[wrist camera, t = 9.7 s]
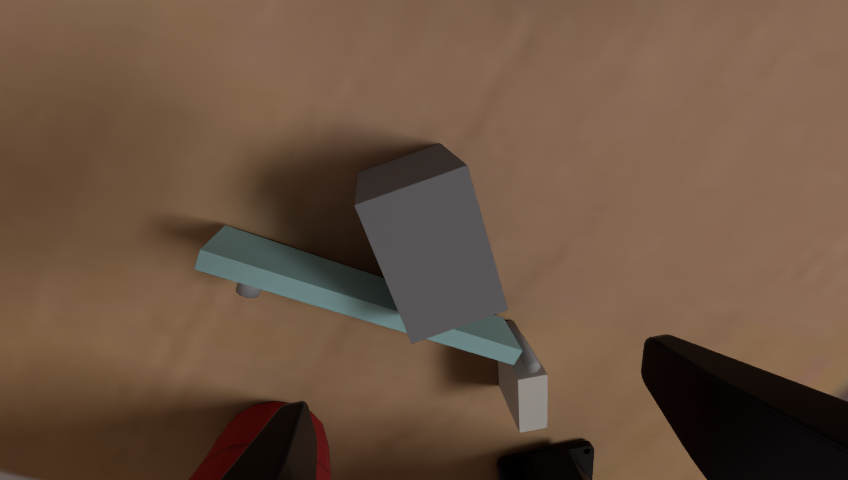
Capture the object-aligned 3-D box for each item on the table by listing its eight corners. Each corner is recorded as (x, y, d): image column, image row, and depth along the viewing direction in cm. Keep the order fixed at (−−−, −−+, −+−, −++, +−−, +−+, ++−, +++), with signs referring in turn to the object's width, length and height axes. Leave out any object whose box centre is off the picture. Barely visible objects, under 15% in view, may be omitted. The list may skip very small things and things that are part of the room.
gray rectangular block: (473, 254, 21) (507, 309, 16) (401, 280, 21) (411, 343, 16) (439, 143, 18) (467, 165, 13) (358, 171, 18) (354, 205, 13)
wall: (523, 381, 24) (548, 428, 21) (499, 385, 24) (520, 434, 21) (510, -134, 15) (551, -197, 12) (471, -131, 15) (501, -194, 11)
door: (503, 317, 22) (522, 350, 19) (488, 345, 22) (504, 381, 20) (225, 225, 18) (199, 249, 15) (214, 260, 19) (188, 290, 16)
